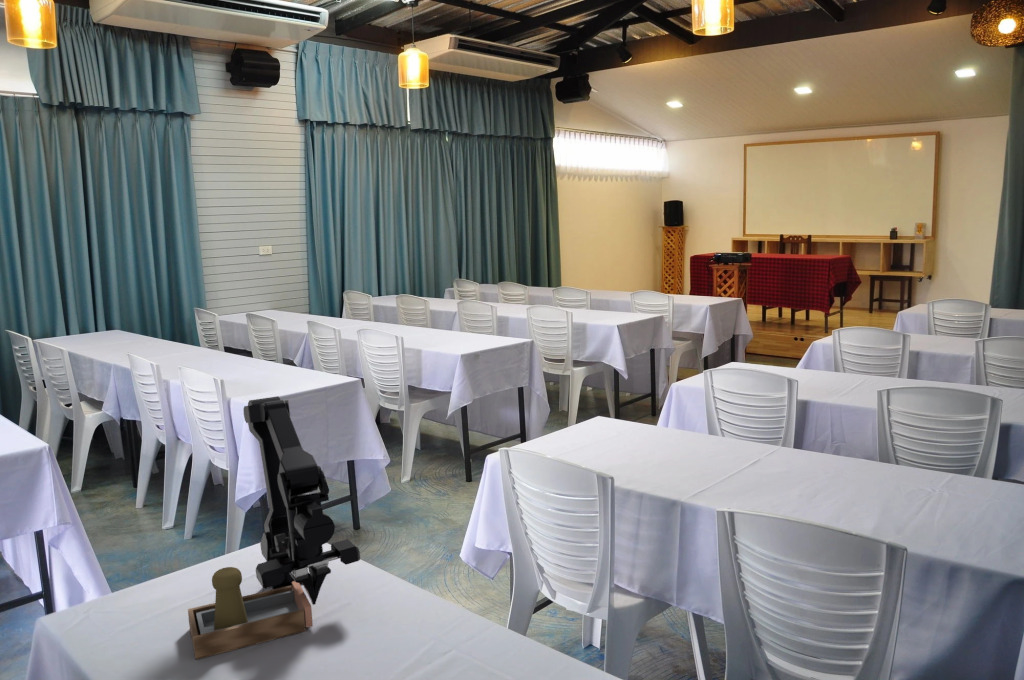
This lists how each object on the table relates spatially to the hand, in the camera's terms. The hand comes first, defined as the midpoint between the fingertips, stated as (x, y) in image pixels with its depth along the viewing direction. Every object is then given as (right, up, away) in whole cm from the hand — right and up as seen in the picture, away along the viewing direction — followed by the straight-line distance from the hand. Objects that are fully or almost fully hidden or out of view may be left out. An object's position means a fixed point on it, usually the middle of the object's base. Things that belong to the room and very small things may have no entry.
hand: (313, 603), depth 151 cm
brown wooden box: (-11, -3, -5) cm, 12 cm away
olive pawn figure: (-14, -2, -6) cm, 15 cm away
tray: (-10, -2, -5) cm, 11 cm away
